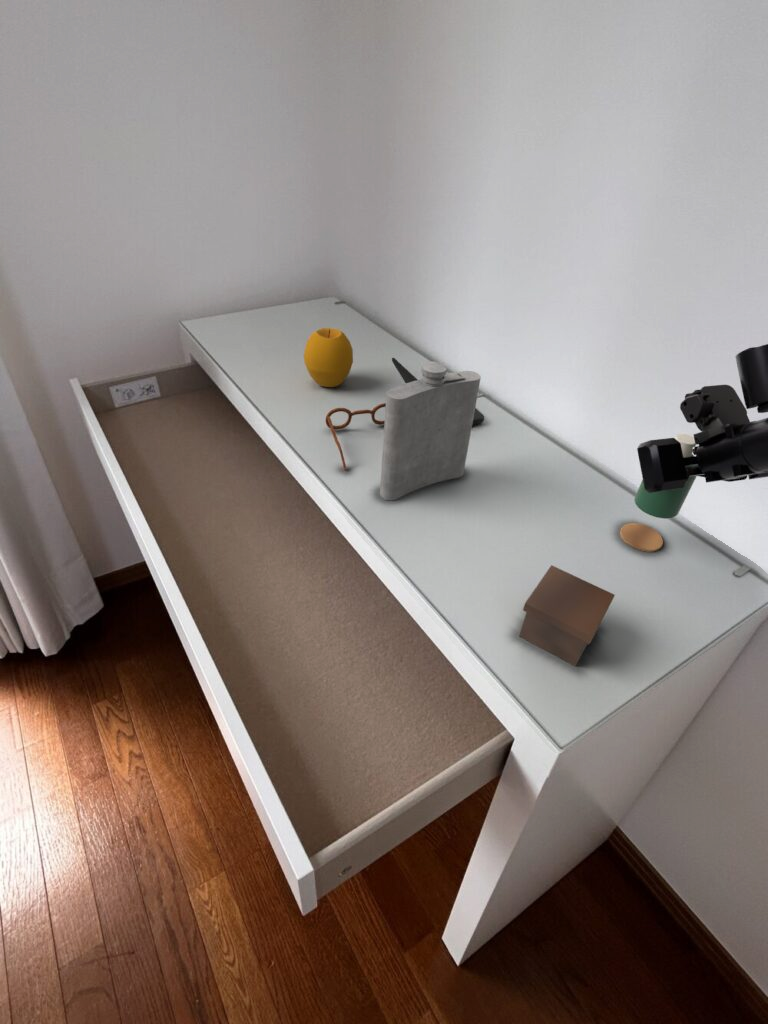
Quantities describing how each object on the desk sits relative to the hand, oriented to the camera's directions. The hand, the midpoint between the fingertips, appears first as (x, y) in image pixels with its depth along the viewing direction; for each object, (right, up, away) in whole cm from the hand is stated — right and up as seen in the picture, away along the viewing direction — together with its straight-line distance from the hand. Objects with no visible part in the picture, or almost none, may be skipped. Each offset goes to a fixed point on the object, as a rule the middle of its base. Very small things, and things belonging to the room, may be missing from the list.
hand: (663, 471), depth 79 cm
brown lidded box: (-17, -20, -9) cm, 28 cm away
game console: (-29, +14, +32) cm, 45 cm away
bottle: (0, -5, +2) cm, 5 cm away
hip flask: (-32, -1, +14) cm, 35 cm away
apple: (-50, +20, +38) cm, 66 cm away
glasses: (-41, +6, +21) cm, 47 cm away
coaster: (0, -9, +6) cm, 11 cm away
